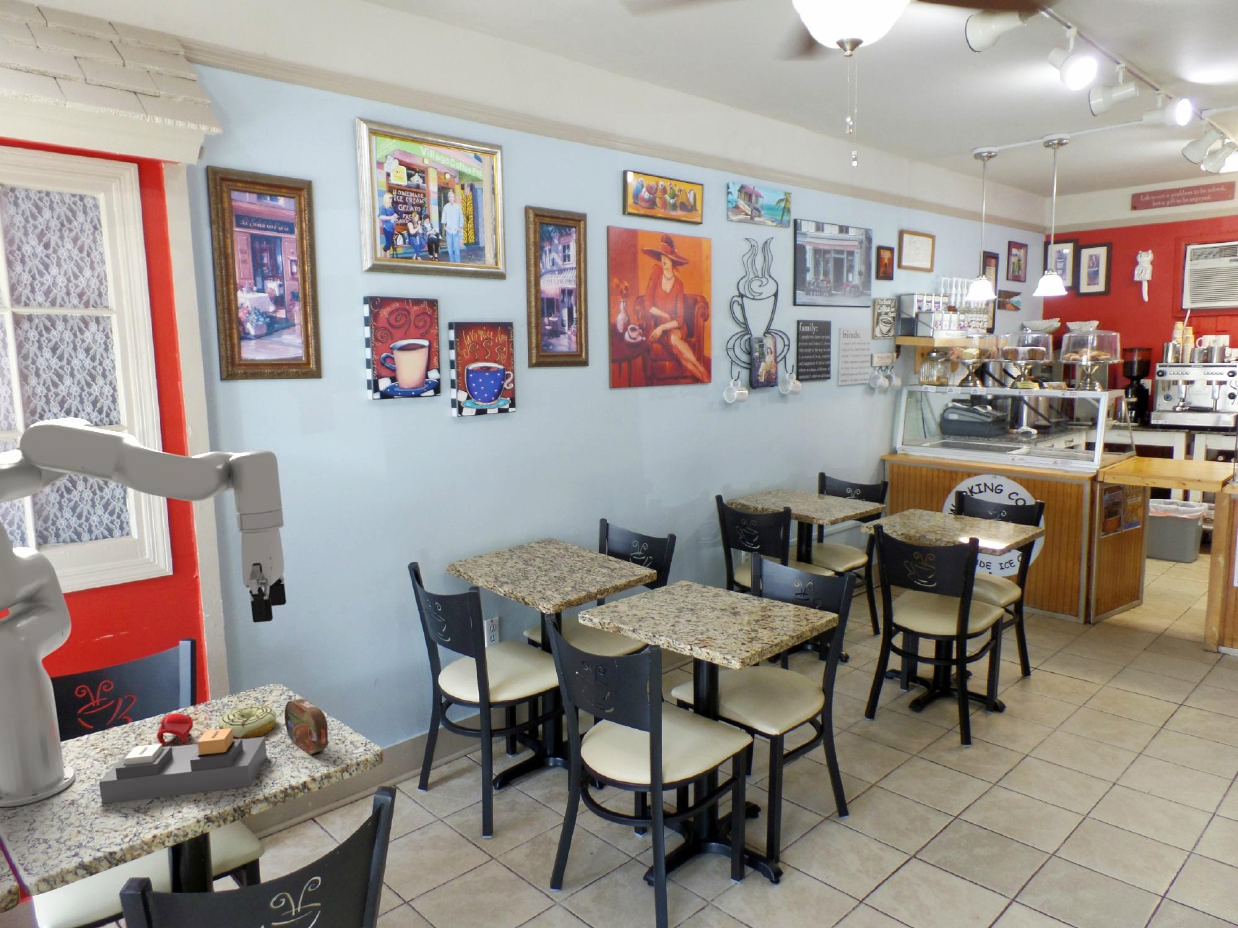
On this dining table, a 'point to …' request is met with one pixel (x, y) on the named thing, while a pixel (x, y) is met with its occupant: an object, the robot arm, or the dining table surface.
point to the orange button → (215, 741)
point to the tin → (306, 726)
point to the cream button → (143, 754)
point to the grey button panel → (185, 772)
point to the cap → (175, 727)
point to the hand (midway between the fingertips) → (270, 612)
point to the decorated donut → (249, 721)
